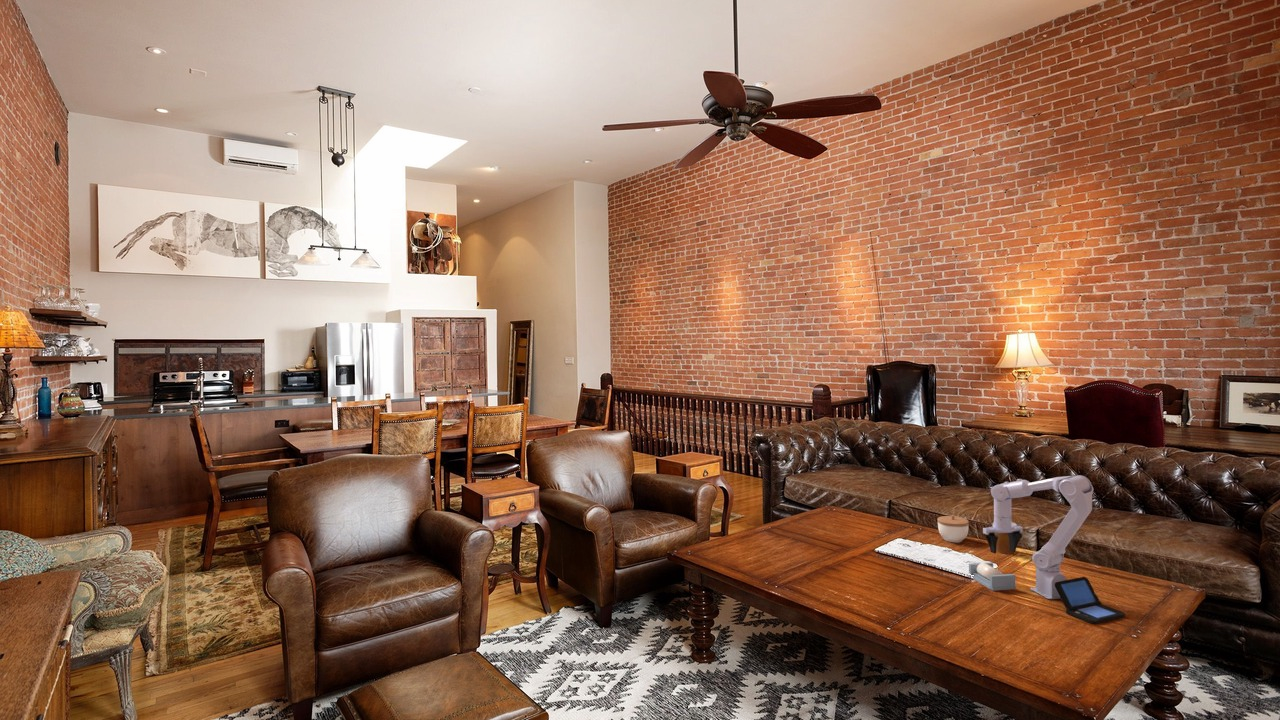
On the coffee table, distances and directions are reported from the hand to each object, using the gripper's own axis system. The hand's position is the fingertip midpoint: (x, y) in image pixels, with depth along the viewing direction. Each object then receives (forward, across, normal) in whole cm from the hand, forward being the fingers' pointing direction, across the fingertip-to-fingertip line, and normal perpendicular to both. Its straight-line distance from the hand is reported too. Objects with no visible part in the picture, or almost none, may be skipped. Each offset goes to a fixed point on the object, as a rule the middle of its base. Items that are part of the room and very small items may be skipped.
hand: (1002, 552), depth 239 cm
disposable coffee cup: (+11, -21, -28) cm, 37 cm away
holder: (+10, +6, +2) cm, 12 cm away
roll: (+9, +6, +2) cm, 12 cm away
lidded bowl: (+11, -9, -46) cm, 48 cm away
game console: (+11, -9, +30) cm, 34 cm away
